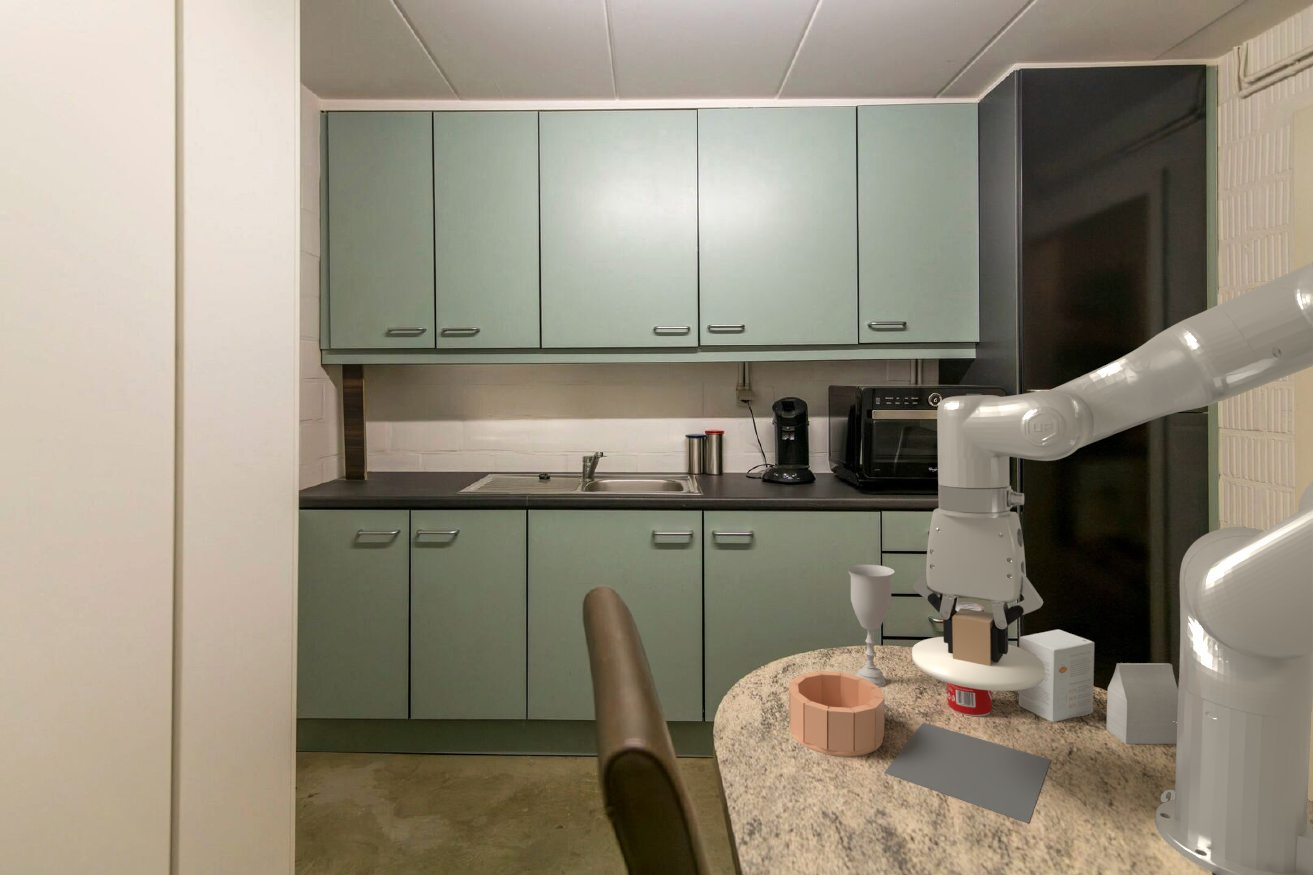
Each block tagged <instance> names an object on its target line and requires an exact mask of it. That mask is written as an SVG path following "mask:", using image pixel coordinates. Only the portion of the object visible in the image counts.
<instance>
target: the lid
mask: <svg viewBox="0 0 1313 875" xmlns="http://www.w3.org/2000/svg"><path fill="white" fill-rule="evenodd" d="M993 621H994V616H993V612H989V611H988V612H987V611H984V612H983V611H976V610H970V609H963V608H961V609H960V610H959V611H958V612H957V613H956V614H955V615H954V616H953V617H952V628H953V654H951V653H948V643H944V636H937V637H936V636H935V637H931V638H927V639H922V640H921V641H918V642H917V643H915V644H914V645H913V646H912V649H911V659H912V660H911V661H912V663H913V665H914V666H915V667H916V668H917V669H918V670H920V671H921V672H922V673H923V674H926V675H927V676H929V677H931V678H933V679H936V680H938V681H942V682H944V683H946V684H947V683H950V684H954V685H958V686H963V687H968V688H974V689H981V690H991V692H992V691H994V692H1008V691H1009V692H1010V691H1019V690H1022V689H1027V688H1031V687H1034V686H1036V685H1038V684H1040V683H1041V682H1042V681H1043V680H1044V664H1043V662H1042V661H1041V660H1040V659H1039V658H1038V657H1037V656H1035V655H1034V654H1032V653H1030V652H1028V651H1026V650H1024V649H1021V648H1020V646H1016V645H1012V644H1009V643H1008V652H1007V654H1003V656H1002V657H1001V659H1000V660H999V662H998V663H997V662H993V661H992V660H991V628H992V627H993Z"/></svg>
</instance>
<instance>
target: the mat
mask: <svg viewBox="0 0 1313 875" xmlns="http://www.w3.org/2000/svg"><path fill="white" fill-rule="evenodd" d="M1050 762H1051V759H1050V758H1046V757H1043V756H1039V755H1036V754H1034V753H1031V752H1026V751H1023V750H1020V749H1016V748H1013V747H1010V746H1006V745H1002V744H999V743H995V742H991V741H987V740H985V739H982V738H978V737H975V736H971V735H968V734H965V733H961V732H958V731H954V730H951V729H947V728H943V727H940V726H937V725H934V724H930V723H926V722H922V723H921V725H920V726H919V727H918V729H917V730H916V731H915V732H914V733H913V735H912V736H911V737H910V738H909V739H908V742H907V743H906V744H905V745H904V746H903V748H902V749H901V750H900V751H899V753H898V754H897V756H896V757H895V758H894V759H893V761H891V763H890V764H889V766H888V767H887V769H886V770H885V771H884V774H886V775H888V776H891V777H894V778H898V779H900V780H903V781H906V782H908V783H911V784H914V785H917V786H920V787H923V788H926V789H929V790H932V791H934V792H937V793H940V794H943V795H946V796H949V797H952V798H955V799H956V800H957V799H958V800H960V801H962V802H966V803H968V804H972V805H974V806H977V807H980V808H982V809H983V808H984V809H986V810H988V811H991V812H994V813H997V814H1000V815H1003V816H1006V817H1009V818H1012V819H1014V820H1017V821H1019V822H1023V823H1026V824H1030V821H1031V819H1032V815H1033V813H1034V809H1035V807H1036V804H1037V801H1038V798H1039V794H1040V792H1041V789H1042V787H1043V783H1044V781H1045V777H1046V775H1047V772H1048V769H1049V766H1050V764H1051V763H1050Z"/></svg>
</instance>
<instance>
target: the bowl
mask: <svg viewBox="0 0 1313 875" xmlns="http://www.w3.org/2000/svg"><path fill="white" fill-rule="evenodd" d="M788 727H789V728H788V729H789V733H790V735H791V736H792V738H793V739H794V740H795V741H796V742H797V743H799V744H800V745H802V746H804V747H805V748H807V749H809V750H811V751H814V752H816V753H817V752H818V753H821V754H823V755H828V756H835V757H847V758H848V757H849V758H850V757H860V756H864V755H868V754H871V753H873V752H876V750H878V749H879V748H880V747H881V746H882V743H883V741H884V740H883V739H884V737H885V696H884V694H883V692H882V688H881V687H880V688H879V687H878V686H877V685H875V684H873V683H872V682H870V681H868V680H867V679H865V678H864V679H863V678H862V677H858V676H856V675H854V674H851V673H846V672H842V671H830V670H829V671H823V670H819V671H817V670H816V671H811V672H806V673H801V674H798V675H797V676H795V677H794V678H793V679H792V680H790V681H789V682H788Z"/></svg>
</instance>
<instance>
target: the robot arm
mask: <svg viewBox="0 0 1313 875" xmlns="http://www.w3.org/2000/svg"><path fill="white" fill-rule="evenodd" d="M1311 367H1313V261H1312V262H1310V263H1308V264H1306V265H1304V266H1301V267H1300V268H1299V267H1298V268H1297V269H1295V270H1292V271H1290V272H1287V273H1286V274H1284V275H1282V276H1280V277H1277V278H1276V279H1273V280H1271V281H1269V282H1267V283H1264V284H1262V285H1261V286H1258V287H1255V288H1253V289H1250V290H1249V291H1247V292H1244V293H1242V294H1240V295H1238V296H1236V297H1233V298H1232V299H1229V300H1227V301H1224V302H1222V303H1220V304H1218V305H1216V306H1212V307H1211V308H1208V309H1206V310H1204V311H1201V312H1200V313H1197V314H1195V315H1193V316H1190V317H1188V318H1186V319H1182V320H1181V321H1179V322H1177V323H1175V324H1174V325H1172V326H1170V327H1168V328H1166V329H1164V330H1162V331H1161V332H1159V333H1157V334H1156V335H1154V337H1151V339H1149V340H1147V341H1146V342H1145V343H1144V344H1142V345H1141V346H1138V348H1136V349H1134V350H1133V351H1131V352H1129V353H1127V354H1125V355H1123V356H1122V357H1120V358H1118V359H1116V360H1113V361H1111V362H1109V363H1108V364H1106V365H1103V366H1101V367H1099V368H1097V369H1095V370H1092V371H1090V372H1088V373H1085V374H1083V375H1081V376H1080V377H1076V378H1074V379H1072V380H1070V381H1067V382H1065V383H1063V384H1061V385H1058V386H1056V387H1054V388H1051V389H1049V390H1039V391H1031V392H1026V393H1022V394H1015V395H1006V396H999V395H993V394H991V395H990V394H986V395H983V394H980V395H979V394H978V395H977V394H976V395H973V394H972V395H956V396H949V397H945V398H943V399H942V400H941V401H940V402H939V403H938V406H937V413H936V414H937V416H936V418H937V421H936V423H937V429H936V430H937V432H936V433H937V475H938V476H937V481H938V485H937V486H938V487H937V489H938V492H937V493H938V494H937V495H938V496H937V497H938V508H935V509H934V510H933V511H932V515H931V520H930V525H929V526H930V527H929V532H928V533H929V534H928V540H927V552H926V563H925V564H926V567H925V568H924V569H923V571H922V572H921V573H920V575H919V577H918V578H917V579H916V581H915V582H914V583H913V585H912V588H913V590H914V591H915V592H916V593H917V594H919V595H920V596H921V597H923V598H924V599H926V600H927V601H928V603H929V604H930V605H931V606H932V607H933V608H934V609H935V610H936V611H937V613H938V614H939V617H940V618H941V620H942V626H943V630H942V631H943V637H944V643H948V653H951V654H953V628H952V617H953V616H954V615H955V614H956V613H957V611H956V607H957V602H959V597H961V598H966V599H973V600H980V601H986V602H987V601H989V602H990V605H991V606H990V607H991V611H992V613H993V616H994V621H993V627H992V628H991V660H992V661H993V662H997V663H998V662H999V660H1000V659H1001V657H1002V656H1003V654H1007V652H1008V644H1009V626H1010V625H1011V624H1013V623H1014V622H1016V621H1017V620H1018V619H1019V618H1021V617H1022V616H1023V615H1024V616H1025V615H1026V614H1029V613H1032V612H1034V611H1036V610H1038V609H1041V607H1042V606H1043V604H1044V601H1043V598H1042V597H1041V596H1040V594H1039V593H1038V592H1037V590H1036V588H1035V587H1034V585H1033V584H1032V583H1031V582H1030V580H1029V579H1028V577H1027V572H1026V571H1027V570H1026V557H1025V546H1024V539H1023V537H1024V536H1023V532H1022V525H1021V522H1020V517H1019V514H1018V513H1017V512H1014V511H1011V509H1012V508H1013V507H1014V506H1015V507H1016V506H1017V505H1018V506H1024V504H1025V493H1023V492H1017V491H1014V490H1013V489H1012V486H1011V485H1010V457H1012V458H1016V459H1017V458H1019V459H1025V460H1032V461H1041V462H1042V461H1043V462H1045V461H1046V462H1049V461H1051V462H1052V461H1057V460H1061V459H1063V458H1066V457H1068V456H1070V455H1072V454H1073V453H1075V452H1076V451H1077V450H1078V449H1080V448H1083V447H1086V446H1087V445H1090V444H1092V443H1095V442H1098V441H1100V440H1103V439H1106V438H1108V437H1111V436H1113V435H1115V434H1117V433H1121V432H1123V431H1126V430H1128V429H1131V428H1133V427H1136V426H1139V425H1142V424H1144V423H1147V422H1150V421H1153V420H1156V419H1160V418H1161V417H1165V416H1168V415H1172V414H1175V413H1179V412H1183V411H1184V412H1185V411H1189V410H1195V409H1199V408H1204V407H1207V406H1211V405H1213V404H1216V403H1218V402H1222V401H1225V400H1228V399H1232V398H1234V397H1236V396H1238V395H1241V394H1244V393H1246V392H1249V391H1251V390H1255V389H1257V388H1260V387H1262V386H1265V385H1267V384H1269V383H1272V382H1275V381H1277V380H1280V379H1284V378H1286V377H1288V376H1291V375H1293V374H1296V373H1299V372H1301V371H1304V370H1307V369H1309V368H1311ZM1179 570H1180V571H1179V605H1180V606H1179V607H1180V608H1179V618H1180V619H1179V620H1180V630H1179V632H1180V634H1179V635H1180V636H1179V638H1180V639H1179V642H1180V643H1179V676H1178V677H1179V678H1178V685H1177V688H1178V718H1177V744H1176V751H1175V752H1176V753H1175V755H1176V756H1175V783H1174V784H1175V786H1174V789H1175V790H1174V799H1171V800H1168V801H1165V802H1163V803H1161V804H1160V805H1159V806H1157V808H1156V809H1155V812H1154V824H1155V828H1156V830H1157V832H1158V833H1159V835H1160V836H1161V838H1162V839H1163V840H1164V841H1165V842H1166V843H1167V844H1168V845H1169V846H1170V847H1171V848H1172V849H1173V850H1175V851H1176V852H1177V853H1178V854H1180V855H1182V856H1183V857H1184V858H1186V859H1187V860H1189V861H1191V863H1194V864H1195V865H1197V866H1199V867H1201V868H1203V869H1205V870H1206V871H1208V872H1210V873H1212V874H1214V875H1313V826H1312V823H1311V820H1310V816H1309V814H1308V803H1309V802H1308V801H1309V798H1308V797H1309V776H1310V757H1311V756H1310V754H1311V753H1310V751H1311V731H1312V730H1311V729H1312V727H1311V726H1312V712H1313V480H1312V481H1311V482H1310V483H1309V485H1308V486H1307V487H1306V488H1305V489H1304V491H1303V493H1302V494H1301V497H1300V499H1299V503H1298V511H1297V512H1296V513H1294V514H1291V516H1289V517H1287V518H1285V519H1283V520H1281V521H1280V522H1278V523H1276V524H1274V525H1272V526H1271V527H1268V528H1267V529H1265V530H1262V529H1259V528H1258V529H1257V528H1252V527H1245V526H1244V527H1243V526H1236V527H1235V526H1232V527H1225V528H1219V529H1216V530H1212V531H1210V532H1208V533H1206V534H1204V535H1202V536H1200V537H1199V538H1198V539H1196V540H1195V541H1194V542H1193V543H1192V544H1191V545H1190V546H1189V547H1188V549H1187V551H1186V552H1185V553H1184V555H1183V558H1182V561H1181V564H1180V569H1179ZM1020 595H1022V597H1023V600H1022V601H1019V602H1016V601H1018V600H1019V599H1020V598H1019V597H1020ZM1014 602H1016V603H1015V604H1013V605H1012V606H1010V604H1009V603H1014Z"/></svg>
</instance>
